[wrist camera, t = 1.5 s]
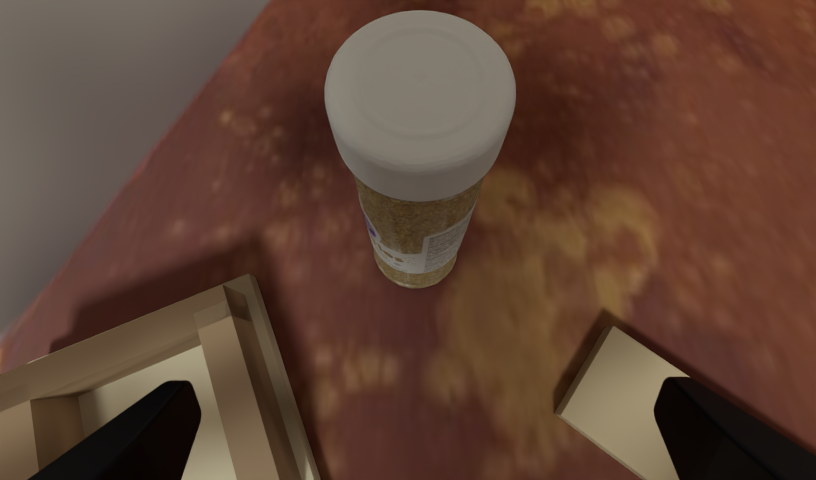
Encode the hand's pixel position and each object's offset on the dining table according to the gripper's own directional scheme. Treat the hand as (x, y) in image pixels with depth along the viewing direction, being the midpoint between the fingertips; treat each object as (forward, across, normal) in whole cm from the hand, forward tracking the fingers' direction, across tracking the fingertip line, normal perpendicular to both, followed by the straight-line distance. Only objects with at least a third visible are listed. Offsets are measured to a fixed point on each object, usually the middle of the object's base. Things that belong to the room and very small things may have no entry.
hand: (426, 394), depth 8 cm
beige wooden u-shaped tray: (+7, +11, +11) cm, 17 cm away
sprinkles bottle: (+14, 0, +4) cm, 15 cm away
